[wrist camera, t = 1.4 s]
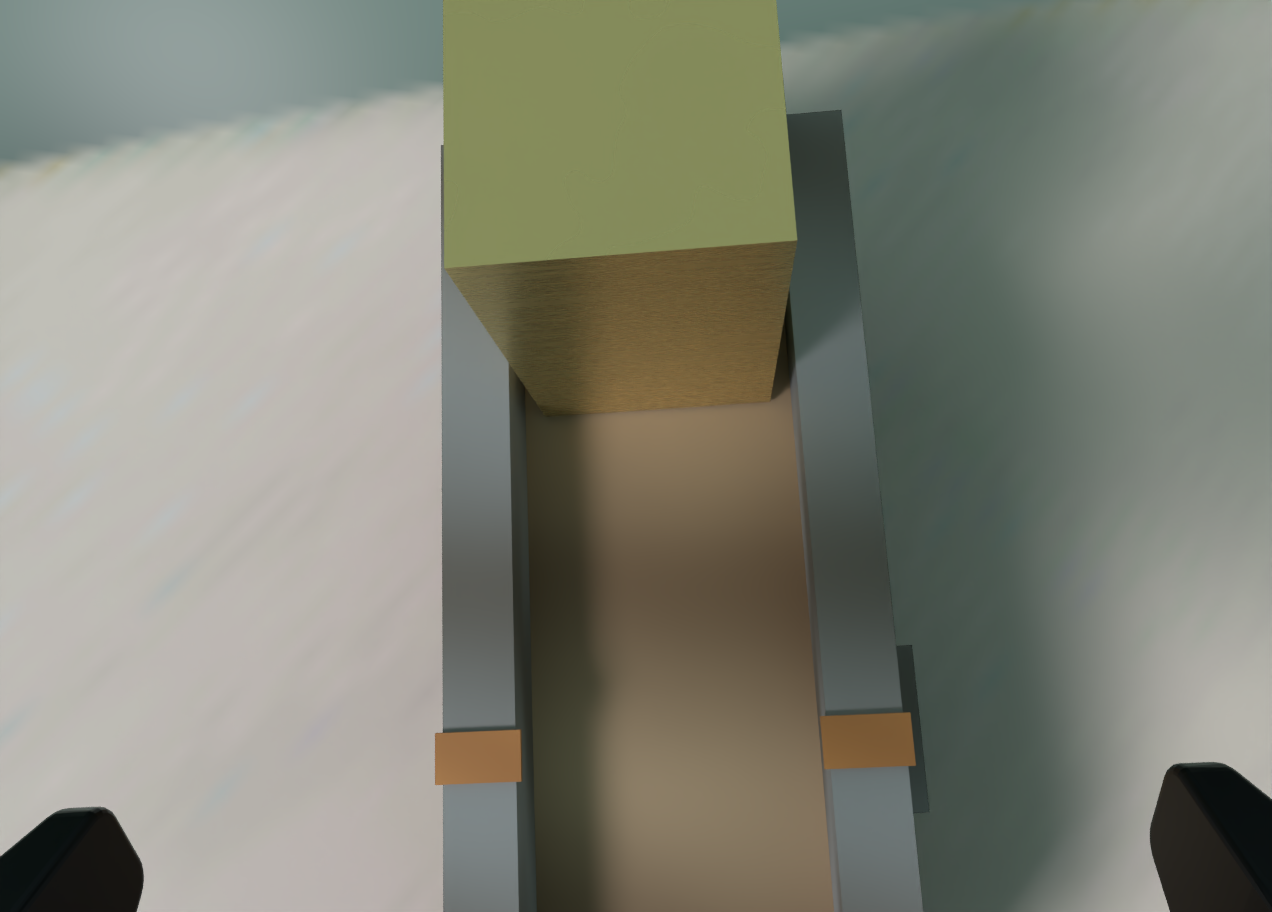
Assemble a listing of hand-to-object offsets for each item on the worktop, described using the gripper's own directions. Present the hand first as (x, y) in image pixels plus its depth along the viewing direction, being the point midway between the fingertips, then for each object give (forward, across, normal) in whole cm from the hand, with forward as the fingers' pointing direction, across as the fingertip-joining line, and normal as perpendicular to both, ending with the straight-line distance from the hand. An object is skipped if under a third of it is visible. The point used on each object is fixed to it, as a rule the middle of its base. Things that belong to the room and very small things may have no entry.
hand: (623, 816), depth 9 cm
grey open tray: (+11, 0, +8) cm, 14 cm away
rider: (+12, 0, +1) cm, 12 cm away
